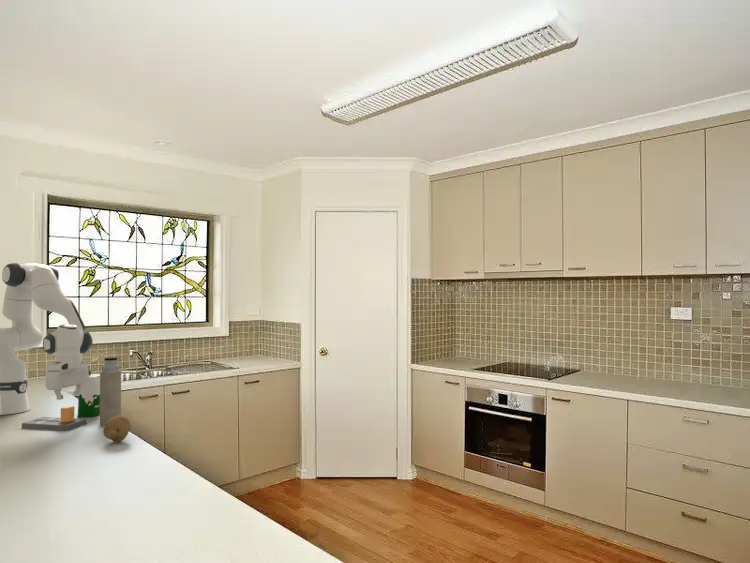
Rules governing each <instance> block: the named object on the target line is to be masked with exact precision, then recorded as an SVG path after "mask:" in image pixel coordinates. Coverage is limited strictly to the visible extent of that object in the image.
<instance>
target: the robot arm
mask: <svg viewBox="0 0 750 563" xmlns="http://www.w3.org/2000/svg"><path fill="white" fill-rule="evenodd" d="M1 277H2V281H3V282H4V284H5V285H6V288H5V293H4V297H3V304H2V315H3V316H4V318H6V319H7V320H9V321H11V327H1V328H0V416H4V415H12V414H19V413H25V412H28V411H30V410H31V407H30V404H29V398H28V397H29V395H28V390H27V389H28V379H27V369H28V368H27V367H28V366H27V363H26V362H25V361H24V360H23V359H21V358H18V357H17V353H16V352H17V351H24V350H26V351H27V350H30V349H33V348H37V347H39V346H40V344H41V343H42V346H43V347H42V348H43V351H44V352H45V353H46V354H48V355H52V356H55V360H53V361H52V362H51V363H48V364H47V365H46V366H45V370H46V371H47V372H46V375H45V388H46V389H47V391H53V393H54V394H55V395H56V400H58V401H60V400H64V394H62V393H61V392H62V389H65V388H69V387H73V386H75V389H74V391H73V396H78V395H80V390H81V388H82V383H86V382H88V381H89V371H88V370H89V367H88V364H87V362H85V361H84V360H82V359H81V358H82V354H86V353H87V352H89V350H90V349H91V348H92V346H93V344H94V343H93V342H94V341H93V338H92V335H91V333H90V332H89V331H88V329H87V328H86V326H85V324H84V321H83V320H82V318H81V316H80V313H79V311H78V309H77V307H76V305H75V304H74V302H73V301H72V300H71V299H69V298H68V297H66V295H65V294H64V293H63V292H62V289H61V287H60V283H59V278H60V272H59V270H58V269H57V268H56V267H55V266H53V265H49V264H41V263H32V262H31V263H27V262H26V263H18V262H13V263H11V262H10V263H8V264H6V265H5V266H4V267H3V269H2V274H1ZM33 303H34V304H35V305H36V307H38V308H40V309H42V310H43V311H48V312H51V313H52V312H53V313H55V314H58V315H60V316H62V317H63V318H65V319H66V321H67V323H68V324H67V323H66V324H65V323H64V324H59V325H58V326H57V328H56V330H55V331H52V332H49V333H48V334H46V335H45V336H44V337H43V333H42V332H41V330H40V329H39V328H38V327H37V326H35V323H34V322H33V319H32V309H33ZM42 341H43V342H42Z"/></svg>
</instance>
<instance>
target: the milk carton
mask: <svg viewBox="0 0 750 563" xmlns="http://www.w3.org/2000/svg"><path fill="white" fill-rule="evenodd" d="M88 371H89V381H88V382H86V383H82V388H81V390H80V395H77V396H78V398H77V401H78V402H77V404H78V405H77V418H94V417H97V416H100V373H99V374H98V373H92V371H91V370H89V369H88Z"/></svg>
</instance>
